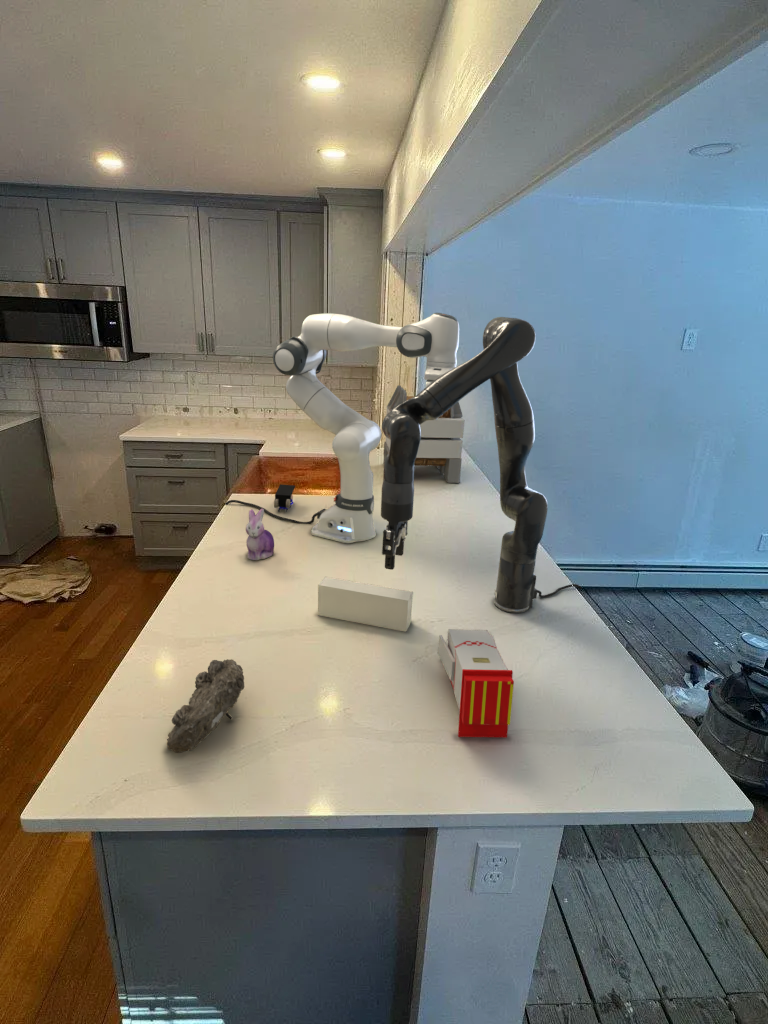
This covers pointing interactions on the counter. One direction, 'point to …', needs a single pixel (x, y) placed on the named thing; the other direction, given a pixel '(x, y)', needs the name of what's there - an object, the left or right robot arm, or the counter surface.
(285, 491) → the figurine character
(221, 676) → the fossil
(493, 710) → the toy
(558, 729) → the counter surface
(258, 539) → the figurine
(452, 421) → the slatted wooden crate
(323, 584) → the bar
